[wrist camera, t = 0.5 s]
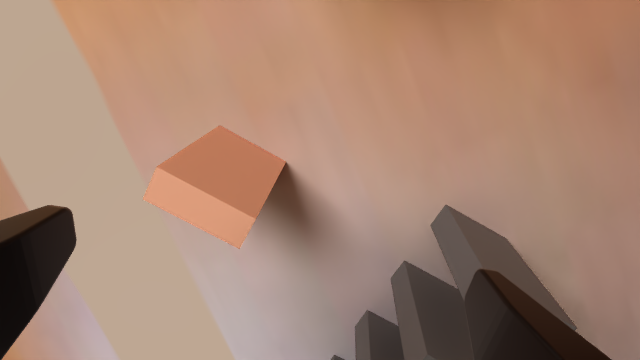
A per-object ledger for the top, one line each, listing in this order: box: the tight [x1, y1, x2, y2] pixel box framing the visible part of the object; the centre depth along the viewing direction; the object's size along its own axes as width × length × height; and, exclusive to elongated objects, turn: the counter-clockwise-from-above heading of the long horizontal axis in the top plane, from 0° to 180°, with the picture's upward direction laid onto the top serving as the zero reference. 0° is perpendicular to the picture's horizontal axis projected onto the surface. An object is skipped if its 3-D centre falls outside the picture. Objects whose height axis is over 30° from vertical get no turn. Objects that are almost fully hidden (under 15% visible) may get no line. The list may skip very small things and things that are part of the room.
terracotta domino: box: [143, 126, 286, 249], centre depth 20 cm, size 2×4×8 cm, turn 61°
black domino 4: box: [431, 205, 577, 331], centre depth 20 cm, size 2×4×8 cm, turn 61°
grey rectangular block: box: [391, 261, 474, 360], centre depth 22 cm, size 2×4×8 cm, turn 61°
